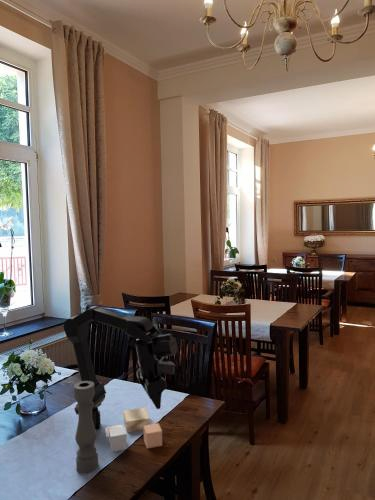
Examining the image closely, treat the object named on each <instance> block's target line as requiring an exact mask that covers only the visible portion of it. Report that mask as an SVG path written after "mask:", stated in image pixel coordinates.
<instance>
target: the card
mask: <svg viewBox="0 0 375 500" xmlns="http://www.w3.org/2000/svg"><path fill="white" fill-rule="evenodd" d="M121 426H123V424H117V425H112V426H107V427H104V431H105V436H106V438H109V429H110V428H115V427H121Z"/></svg>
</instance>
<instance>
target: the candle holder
mask: <svg viewBox="0 0 375 500" xmlns="http://www.w3.org/2000/svg"><path fill="white" fill-rule="evenodd" d="M73 393H74V395H73V396H74V399H75V402H77V403H76V405H75V407H76V410H78V414H77V415H78V421H77V426H76V431H75V442H76V444H77V445H78V450H77V451H76V457H75V462H76V463H75V465H76V471H77V473H79V474H83V475H86V474H87V475H88V474H92V473H93V472H95V471H96V470H97V469H98V467H99V455H98V454H99V453H98V450H97V448H96V447H95V443H96V441H97V438H98V437H97V436H98V434H97V430H96V429H95V426H94V423H93V419H92V408H93V407H94V403H93V402H92V399H93V397H94V394H95V392H94V382H92V381H78V382H77V383H74V385H73Z"/></svg>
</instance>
